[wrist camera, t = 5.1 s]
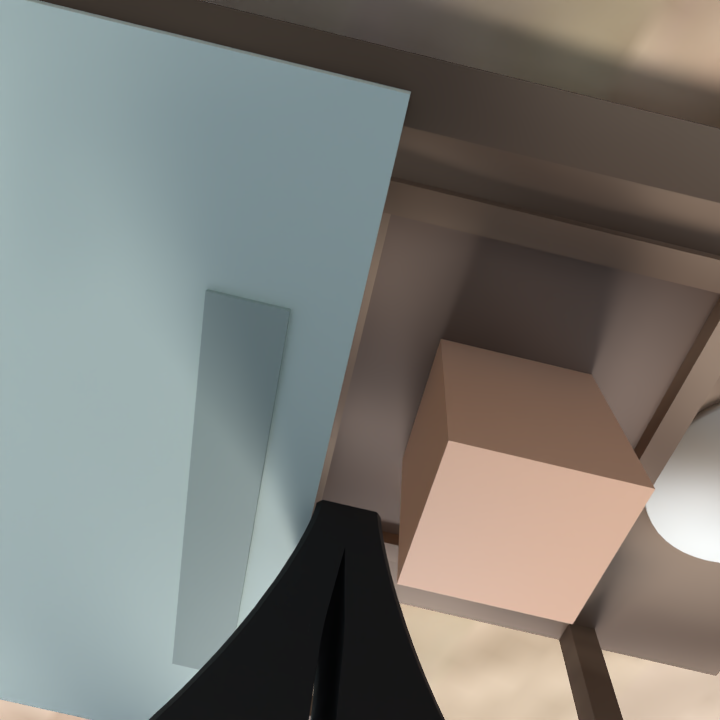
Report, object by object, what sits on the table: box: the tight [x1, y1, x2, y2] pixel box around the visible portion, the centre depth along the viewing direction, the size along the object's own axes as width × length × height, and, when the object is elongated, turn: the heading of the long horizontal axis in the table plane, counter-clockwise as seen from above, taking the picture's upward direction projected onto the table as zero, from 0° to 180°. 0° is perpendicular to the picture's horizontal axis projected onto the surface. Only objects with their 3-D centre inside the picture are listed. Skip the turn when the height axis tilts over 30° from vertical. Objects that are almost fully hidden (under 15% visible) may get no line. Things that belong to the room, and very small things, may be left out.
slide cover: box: [0, 0, 411, 720], centre depth 12 cm, size 17×10×1 cm, turn 168°
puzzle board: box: [40, 0, 720, 720], centre depth 15 cm, size 18×30×6 cm, turn 78°
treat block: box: [397, 339, 655, 624], centre depth 15 cm, size 4×4×5 cm
